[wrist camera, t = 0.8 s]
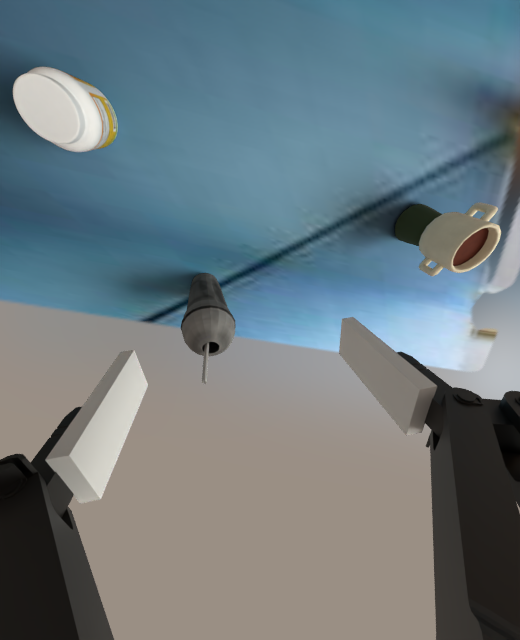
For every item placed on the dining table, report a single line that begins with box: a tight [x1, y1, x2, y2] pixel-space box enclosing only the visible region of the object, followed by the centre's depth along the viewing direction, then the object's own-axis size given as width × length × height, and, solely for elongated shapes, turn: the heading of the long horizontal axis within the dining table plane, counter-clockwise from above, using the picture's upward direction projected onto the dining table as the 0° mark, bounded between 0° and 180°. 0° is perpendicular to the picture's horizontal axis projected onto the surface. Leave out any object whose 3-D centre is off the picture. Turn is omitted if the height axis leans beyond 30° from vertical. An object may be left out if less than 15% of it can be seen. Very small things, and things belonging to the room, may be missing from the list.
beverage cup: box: [181, 273, 235, 384], centre depth 33 cm, size 7×7×20 cm
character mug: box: [395, 203, 501, 276], centre depth 37 cm, size 11×7×13 cm, turn 153°
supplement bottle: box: [13, 67, 118, 152], centre depth 21 cm, size 5×5×10 cm
